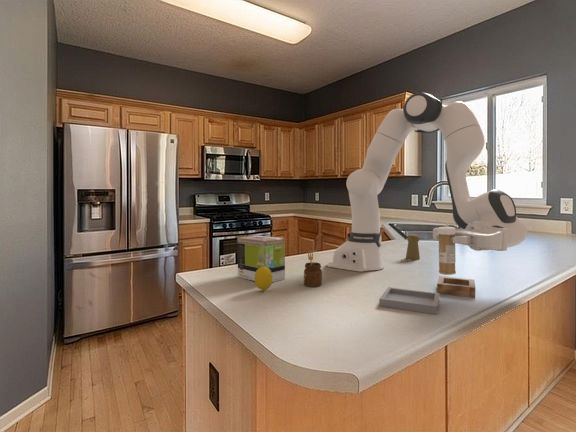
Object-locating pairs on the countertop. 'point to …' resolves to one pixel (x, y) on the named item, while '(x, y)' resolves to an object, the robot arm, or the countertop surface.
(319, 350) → the countertop surface
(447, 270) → the sprinkles bottle
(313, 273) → the utensil holder
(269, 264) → the tea box
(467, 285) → the square wooden box
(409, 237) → the olive tapered container
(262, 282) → the lemon
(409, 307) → the tray
